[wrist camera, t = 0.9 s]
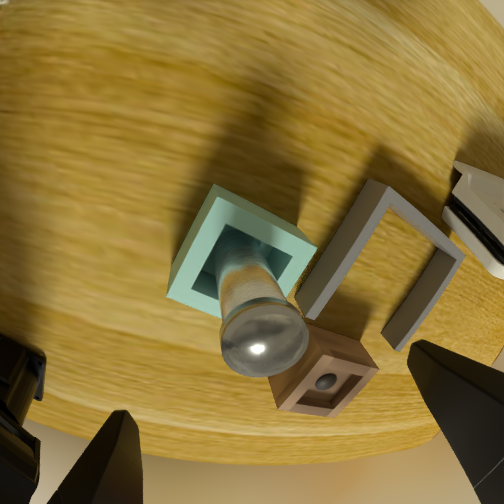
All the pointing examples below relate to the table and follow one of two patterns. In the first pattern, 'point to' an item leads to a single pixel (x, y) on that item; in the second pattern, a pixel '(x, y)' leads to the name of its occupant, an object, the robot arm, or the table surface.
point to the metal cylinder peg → (254, 310)
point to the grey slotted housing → (479, 216)
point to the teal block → (246, 220)
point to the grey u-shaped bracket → (353, 241)
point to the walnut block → (323, 375)
